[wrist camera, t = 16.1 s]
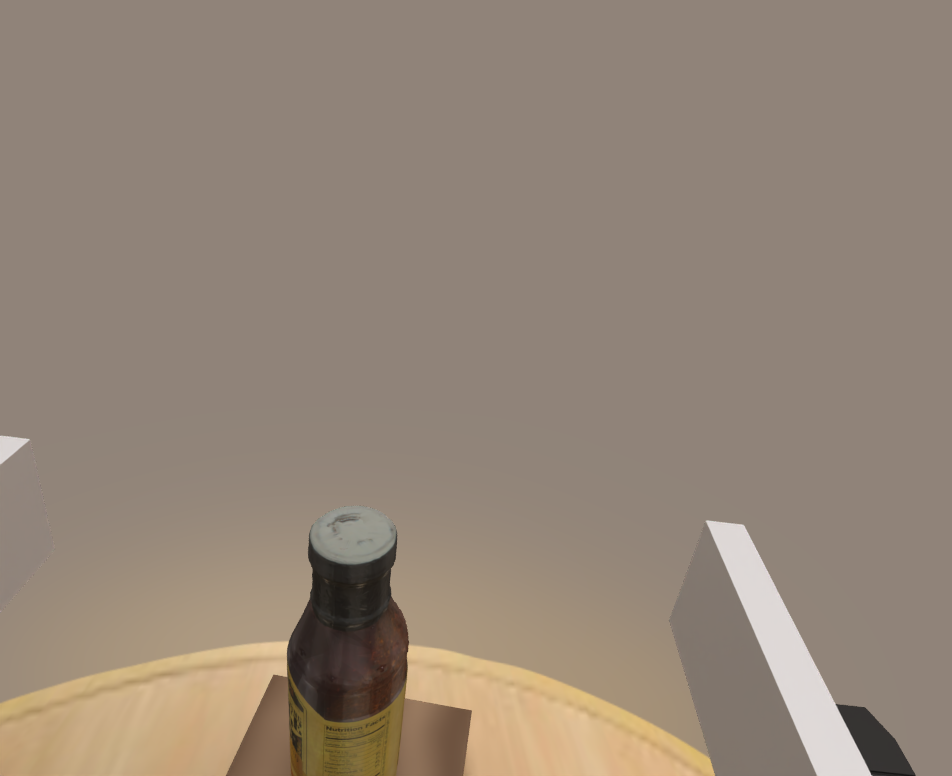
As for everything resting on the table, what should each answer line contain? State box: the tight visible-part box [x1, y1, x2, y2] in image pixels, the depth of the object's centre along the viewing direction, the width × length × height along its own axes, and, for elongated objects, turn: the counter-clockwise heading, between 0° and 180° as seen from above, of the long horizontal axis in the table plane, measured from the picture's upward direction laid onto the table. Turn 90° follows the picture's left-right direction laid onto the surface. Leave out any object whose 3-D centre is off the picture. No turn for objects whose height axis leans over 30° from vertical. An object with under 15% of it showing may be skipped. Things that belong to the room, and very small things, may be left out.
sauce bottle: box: [287, 506, 409, 776], centre depth 35 cm, size 6×6×20 cm
